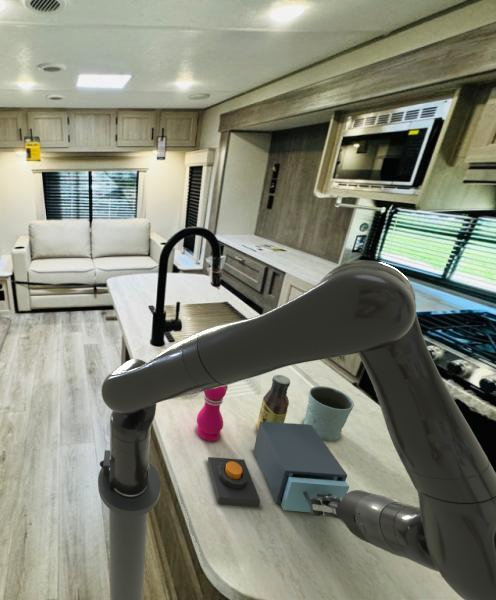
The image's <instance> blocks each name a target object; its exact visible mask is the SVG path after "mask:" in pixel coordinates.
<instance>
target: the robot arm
mask: <svg viewBox="0 0 496 600" xmlns="http://www.w3.org/2000/svg"><path fill="white" fill-rule="evenodd" d="M351 355H358V357H359V359H360V360H361V362H362V364H363V366H364V368H365V370H366V372H367V376H368V377H369V380H370V381H371V382H370V383H371V384H372V387H373V389H374V392H375V395H376V398H377V401H378V405H379V407H380V410H381V414H382V416H383V419H384V423H385V426H386V428H387V432H388V434H389V438H390V440H391V443H392V444H393V447H394V449H395V451H396V452H397V456H398V457H399V459H400V462H401V464H402V465H403V468H404V469H405V471H406V473H407V475H408V477H409V479H410V481H411V483H412V485H413V487H414V488H415V490H416V493H417V495H418V505H419V506H417V505H414V504H413V505H412V504H409V503H404V502H403V501H400V500H398V499H395V498H392V497H389V496H384V495H381V494H376V493H373V492H370V491H369V492H368V491H364V490H361V489H360V490H359V489H357V490H350V491H348V492H347V494H346V495H345V496H344V497H336V496H328V495H323V494H317V496H316V497H314V498H311V503H312V509H313V514H314V515H313V516H317V517H320V516H319V515H325V513H326V512H329V513H330V515H331V516H332V517H331V518H335V519H337V520H340V521H341V523H342V524H344V525H345V527H346V528H347V529H348V530H349V531H350V532H351V533H352V534H353V535H354V536H355V537H356V538H358V539H360V540H362V541H363V542H365V543H368V544H370V545H371V546H374V547H376V548H379V549H380V550H382V551H385V552H387V553H389V554H392V555H394V556H397V557H400V558H404V559H407V560H409V561H411V562H413V563H416V564H418V565H420V566H422V567H424V568H427V569H429V570H432V571H435V572H438V573H439V574H440V576H441V577H442V579H443V580H444V581H445V583H447V585H448V586H449V587H450V588H451V589H452V591H454V592H455V593H456V594H457V595H458V596H459V597H460V598H461V599H462V600H496V471H495V470H494V467H493V466H492V464H491V462H490V460H489V458H488V456H487V454H486V452H485V451H484V450H483V447H482V445H481V444H480V442H479V441H478V439H477V437H476V435H475V433H474V432H473V430H472V428H471V426H470V425H469V422H467V420H466V418H465V416H464V414H463V413H462V411H461V410H460V408H459V406H458V404H457V403H456V401H455V399H454V398H453V396H452V394H451V392H450V390H449V388H448V387H447V385H446V383H445V381H444V380H443V378H442V375H441V374H440V372H439V369H438V368H437V366H436V363H435V361H434V359H433V356H432V354H431V352H430V350H429V348H428V344H427V343H426V340H425V338H424V335H423V332H422V329H421V325H420V322H419V318H418V314H417V303H416V293H415V291H414V288H413V285H412V283H411V282H410V280H409V279H408V277H406V276H405V275H404V274H403V273H402V272H401V271H400V270H398V269H397V268H395V267H393V266H392V265H389V264H386V263H384V262H380V261H376V260H367V259H366V260H365V259H363V260H362V259H361V260H352V261H349V262H346V263H345V262H344V263H342V264H340V265H338V266H336V267H335V268H333V269H332V270H331V271H329V272H328V273H327V274H325V276H324V277H323V278H322V279H321V280H320V281H319V282H318V283H317V284H315V285H314V286H313V287H311V288H309V289H308V290H306V291H305V292H303V293H301V294H300V295H298V296H296V297H294V298H293V299H291V300H289V301H287V302H284V303H282V304H281V305H279V306H277V307H275V308H273V309H270V310H269V311H266V312H264V313H261V314H259V315H256V316H253V317H250V318H244V319H239V320H233V321H232V320H231V321H227V322H222V323H219V324H215V325H212V326H209V327H207V328H205V329H202V330H200V331H197V332H195V333H193V334H191V335H189V336H187V337H185V338H183V339H181V340H179V341H178V342H176V343H174V344H173V345H171V346H169V347H168V348H166V349H165V350H163V351H162V352H160V353H159V354H157V355H156V356H155V357H153V358H152V359H150V360H149V361H147V362H146V361H144V360H143V359H139V358H132V359H129V360H126V361H125V362H124V363H122V364H121V365H119V366H118V367H117V368H115V369H114V370H113V371H110V373H109V374H108V375H107V376H106V377H105V378H104V380H103V382H102V385H101V391H100V393H101V397H102V400H103V403H104V404H105V405H106V407H107V408H109V410H111V411H112V412H111V413H110V418H109V445H110V446H109V450H107V449H105V450H104V454H103V460H101V461H100V462H99V466H100V468H103V475H110V490H113V491H115V492H116V493H117V494H119V495H120V496H122V497H125V498H136V497H139V496H141V495H142V494H143V493H144V492H145V491H146V489H147V487H148V474H149V471H148V470H149V465H150V464H151V463H150V451H151V450H150V449H151V434H152V433H151V430H152V425H153V422H154V420H155V416H156V412H157V411H156V410H157V404H158V403H161V402H164V401H168V400H173V399H177V398H181V397H187V396H190V395H194V394H196V393H201V392H204V391H206V390H211V389H215V388H218V387H222V386H226V387H227V386H229V385H232V384H236V383H238V382H241V381H245V380H248V379H251V378H254V377H258V376H262V375H265V374H267V373H270V372H273V371H276V370H279V369H282V368H285V367H290V366H295V365H299V364H303V363H309V362H314V361H321V360H327V359H333V358H339V357H345V356H351ZM149 463H150V464H149Z"/></svg>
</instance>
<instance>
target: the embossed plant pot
mask: <svg viewBox="0 0 496 600" xmlns="http://www.w3.org/2000/svg"><path fill="white" fill-rule="evenodd" d="M307 398H308V400H307V406H306V409H305V410H306V412H305V417H304V421H303V424H309V425H312V426H313V428H314V429H315V430H316V432H317V433H318V435H319V436H320V437H321V439H322V440H323V441H326V442H335V441H337V440H338V439H339V437H340V436H341V433H342V431H343V430H342V429H343V428H344V427H345V425H346V423H347V420H348V418H349V416H350V414H351V412H352V411H353V408H354V406H355V403H354V401H353V400H352V398H351V397H350V396H349V395H347V394H346V393H344V392H343V391H342V390H339V389H336V388H333V387H330V386H325V385H324V386H323V385H319V386H313V387H311V388H310V389H309V391H308V397H307Z"/></svg>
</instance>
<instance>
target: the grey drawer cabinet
mask: <svg viewBox="0 0 496 600" xmlns="http://www.w3.org/2000/svg"><path fill="white" fill-rule="evenodd" d="M252 453H253V455H254V457H255V459H256V462H257V464H258V466H259V468H260V470H261V473H262V475H263V477H264V479H265V482H266V484H267V487H268V489H269V491H270V493H271V496H272V498H273V501H274V502H275V504H276V505H281V503H282V500H283V499H282V493H283V490H284V486H285V483H286V479H287V476H288V473H292V474H305V475H318V476H332V477H338V479H337V481H346V482H347V478H348V474H347V472H346V471H345V470H344V467H343V466H342V465H341V464H340V462H339V461H338V459H337V458H336V457H335V455H334V454H333V453H332V451H331V449H330V448H329V447H328V446H327V445H326V443H325V441H324V440H322V439H321V437H320V436H319V435H318V433H317V432H316V430H315V429H314V428H313V426H312V425H309V424H304V423H292V422H291V423H290V422H284V423H275V422H260V424H259V428H258V432H256V437H255V442H254V447H253V452H252Z"/></svg>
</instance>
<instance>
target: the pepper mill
mask: <svg viewBox="0 0 496 600" xmlns="http://www.w3.org/2000/svg"><path fill="white" fill-rule="evenodd" d="M226 395H227V385H226V386H222V387H218V388H215V389H211V390H206V391H203V401H204V404H203V407H202V408H201V409H200V410H199V411H198V413H197V417H196V424H197V426H196V428H197V429H196V432H197V435H198V436H199V437H200V438H201V439H203V440H204V441H207V442H216V441H218V440H219V438H220V437H221V431H222V430H223V427H224V418H223V416H222V413H221V410H220V407H221V405H222V404H223V402H224V401H223V400H224V398H225V396H226Z"/></svg>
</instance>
